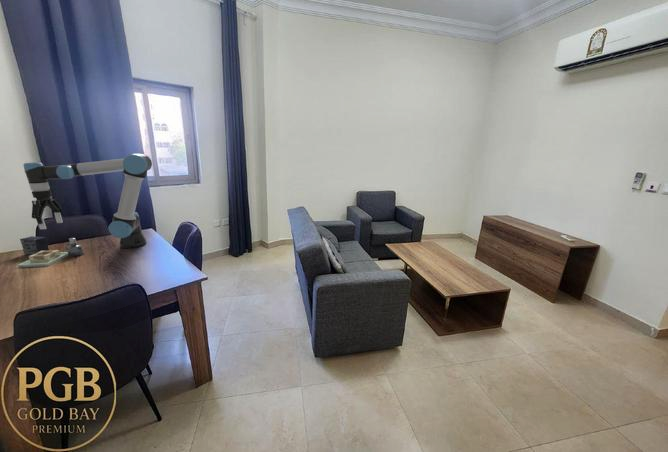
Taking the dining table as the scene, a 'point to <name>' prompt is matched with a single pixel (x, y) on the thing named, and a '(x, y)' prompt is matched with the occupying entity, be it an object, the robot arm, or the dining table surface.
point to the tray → (28, 264)
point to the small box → (34, 245)
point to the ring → (44, 256)
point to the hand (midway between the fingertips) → (52, 225)
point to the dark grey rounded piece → (74, 248)
